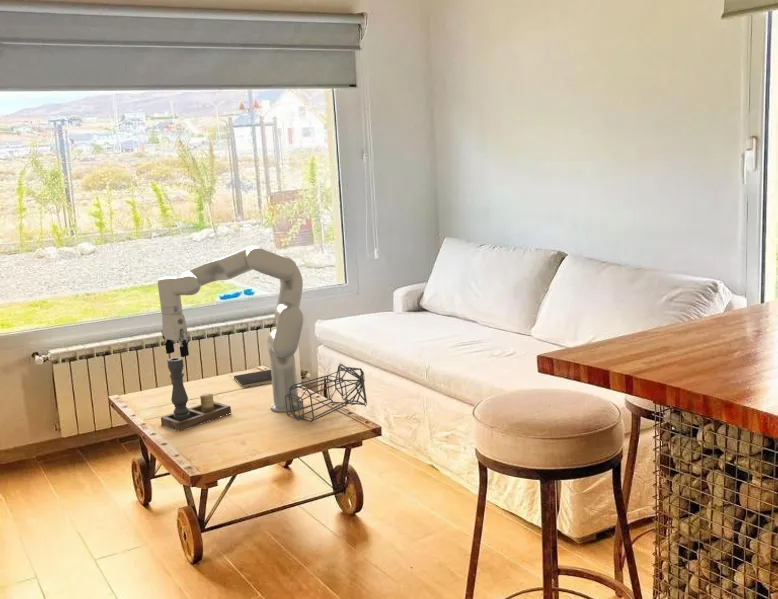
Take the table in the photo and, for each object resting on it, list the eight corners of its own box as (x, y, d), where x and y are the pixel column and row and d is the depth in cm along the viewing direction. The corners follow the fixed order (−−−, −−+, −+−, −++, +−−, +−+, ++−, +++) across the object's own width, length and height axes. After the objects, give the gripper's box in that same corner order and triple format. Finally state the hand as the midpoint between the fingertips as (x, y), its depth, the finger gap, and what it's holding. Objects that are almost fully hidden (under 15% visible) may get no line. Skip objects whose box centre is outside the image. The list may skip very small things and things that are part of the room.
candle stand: (231, 413, 337) (229, 393, 335) (179, 431, 320) (177, 410, 319) (212, 408, 345) (210, 388, 344) (161, 424, 329) (159, 404, 327)
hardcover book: (294, 380, 378) (293, 375, 378) (242, 389, 370) (241, 384, 369) (284, 371, 393) (283, 367, 392) (234, 380, 384) (233, 375, 384)
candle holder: (186, 418, 334) (179, 356, 329) (193, 422, 329) (186, 359, 324) (171, 422, 330) (163, 359, 326) (178, 426, 326) (170, 362, 321)
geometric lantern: (300, 391, 311) (374, 364, 333) (276, 383, 323) (348, 359, 345) (306, 432, 314) (378, 403, 337) (281, 423, 326) (353, 396, 348)
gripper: (193, 310, 317) (199, 355, 320) (167, 305, 329) (173, 349, 332) (175, 314, 312) (181, 360, 315) (150, 309, 324) (156, 354, 327)
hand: (177, 354), depth 324 cm, fingers open, 9 cm apart
